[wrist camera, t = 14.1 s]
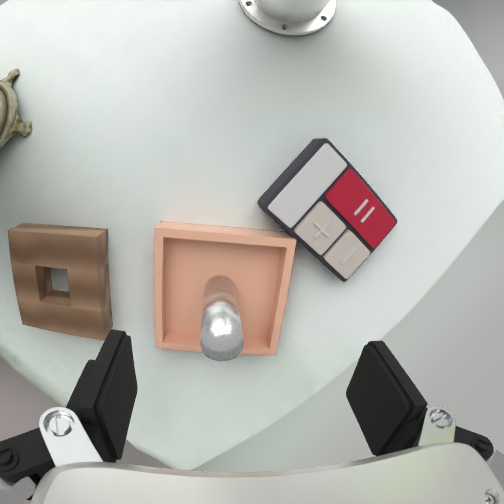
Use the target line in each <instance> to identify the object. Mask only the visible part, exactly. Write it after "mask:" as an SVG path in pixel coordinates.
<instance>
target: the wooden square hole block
mask: <svg viewBox="0 0 504 504" xmlns="http://www.w3.org/2000/svg"><path fill="white" fill-rule="evenodd" d="M8 237H9V247H10V256H11V264H12V272H13V278H14V284H15V290H16V296H17V301H18V306H19V310H20V315H21V319H22V324H23V325H28V326H32V327H36V328H41V329H45V330H50V331H55V332H60V333H65V334H70V335H76V336H81V337H87V338H93V339H99V340H105V339H106V337H107V335H108V333H109V331H110V329H111V327H112V326H113V324H112V314H111V302H110V288H109V269H108V229H99V228H86V227H72V226H57V225H43V224H28V223H23V224H21V225H18V226H16V227H14V228H12V229H9V230H8ZM50 267H51V268H59V269H67V275H68V285H69V292H63V291H57V290H52V283H51V274H50Z"/></svg>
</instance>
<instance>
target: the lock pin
mask: <svg viewBox="0 0 504 504" xmlns="http://www.w3.org/2000/svg"><path fill="white" fill-rule="evenodd" d="M200 346H201V349H202V351H203V353H204V354H205V355H206V356H208V357H209V358H211V359H213V360H217V361H227V360H231V359H233V358H235V357H236V356H238V355H239V354H240V353H241V351H242V349H243V346H244V340H243V334H242V327H241V320H240V314H239V307H238V300H237V293H236V287H235V284H234V282H233V281H232V280H231V279H230V278H228V277H226V276H221V275H219V276H214V277H212V278H210V279H209V280H208V281H207V282H206V284H205V287H204V298H203V310H202V323H201V337H200Z"/></svg>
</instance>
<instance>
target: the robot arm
mask: <svg viewBox="0 0 504 504" xmlns="http://www.w3.org/2000/svg"><path fill="white" fill-rule="evenodd" d="M239 2H240V5H241V7H242V9H243V10H244V12H245V13H246V14H247V16H248V17H249V18H250V19H251V20H253V21H254V22H255V23H257V24H258V25H260V26H261V27H263V28H265V29H267V30H270V31H272V32H275V33H279V34H284V35H293V36H297V35H306V34H311V33H314V32H316V31H318V30H320V29H321V28H323V27H324V26H326V24H327V23H328V22H329V21H330V20H331V18H332V17H333V15H334V12H335V6H336V2H335V0H239ZM283 28H285V30H284V29H283ZM136 395H137V381H136V375H135V368H134V361H133V353H132V345H131V337H130V336H128V335H126V332H125V331H119V330H110V331H109V333H108V335H107V337H106V339H105V342H104V344H103V346H102V348H101V350H100V352H99V354H98V356H97V358H96V360H89V361H88V362H87V364H86V366H85V368H84V370H83V372H82V374H81V376H80V378H79V380H78V382H77V384H76V387H75V389H74V391H73V393H72V395H71V397H70V400H69V402H68V404H67V406H66V408H64V407H55V408H51V409H49V410H47V411H46V412H44V413H43V414H42V416H41V418H40V421H39V428H37V429H34V430H31V431H29V432H26V433H23V434H21V435H18V436H15V437H12V438H9V439H6V440H4V441H1V442H0V504H22V503H23V502H24V501H26V500H31V502H30V504H504V454H502V453H501V452H499V451H497V450H496V451H495V452H493V445H492V443H491V442H490V440H489V439H488V438H486V437H484V436H482V435H480V434H477V433H474V432H471V431H468V430H466V429H463V428H460V427H458V426H455V425H456V421H455V417H454V415H453V414H452V413H451V412H450V411H449V410H447V409H445V408H443V407H439V406H435V407H431V408H430V409H427V408H426V406H427V402H426V401H425V399H424V398H423V396H422V395H421V393H420V392H419V391H418V389H417V388H416V386H415V385H414V383H413V382H412V381H411V379H410V378H409V376H408V375H407V373H406V372H405V371H404V369H403V368H402V366H401V365H400V364H399V362H398V361H397V359H396V358H395V357H394V355H393V354H392V353H391V351H390V350H389V349H388V347H387V346H386V344H385V343H384V342H383V341H370V342H368V344H367V345H365V346H364V348H363V351H362V353H361V356H360V358H359V361H358V364H357V366H356V369H355V371H354V374H353V376H352V378H351V381H350V384H349V386H348V388H347V391H346V396H347V399H348V401H349V403H350V405H351V408H352V410H353V412H354V414H355V416H356V418H357V421H358V423H359V425H360V427H361V430H362V432H363V434H364V436H365V439H366V441H367V443H368V445H369V448H370V450H371V452H372V454H373V455H376V457H372V458H367V459H362V460H357V461H352V462H346V463H340V464H334V465H327V466H320V467H313V468H303V469H294V470H281V471H264V472H204V471H188V470H175V469H163V468H154V467H146V466H138V465H129V464H122V463H116V460H117V459H118V460H120V459H121V458H122V453H123V449H124V444H125V440H126V436H127V431H128V427H129V423H130V419H131V414H132V410H133V406H134V402H135V398H136Z"/></svg>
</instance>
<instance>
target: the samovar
mask: <svg viewBox="0 0 504 504" xmlns="http://www.w3.org/2000/svg"><path fill="white" fill-rule="evenodd" d="M17 75H20V74H19V69H14V70H12V71H11V72H10V73H9V74H8V76H7V77H6V78H4V79H1V80H0V149H1V148H2V147H3V146H4V145H5V143H6V142H7V141H8V140H9V139H10V138H12V137H13V136H14V135H16V134H17V133H20V134H21V135H22V136H24V137H26V136H28V135H29V134H30V133H31V131H32V122H30V121H28V122H23V121H22V120H21V118H20V117H19V115H18V114H17V107H18V101H17V96H16V93H15V91H14V90H13V89H12V88H11V87H12V81H13V79H14V78H15V76H17Z"/></svg>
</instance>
